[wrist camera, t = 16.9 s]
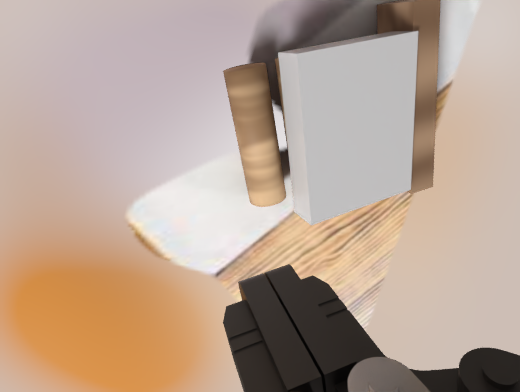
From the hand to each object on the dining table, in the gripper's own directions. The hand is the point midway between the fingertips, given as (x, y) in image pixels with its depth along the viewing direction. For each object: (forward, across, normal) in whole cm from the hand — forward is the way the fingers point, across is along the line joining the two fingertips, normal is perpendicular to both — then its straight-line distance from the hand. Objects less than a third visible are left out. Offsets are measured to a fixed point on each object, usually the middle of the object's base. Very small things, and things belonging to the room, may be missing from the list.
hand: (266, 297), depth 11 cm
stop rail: (+25, -21, +3) cm, 33 cm away
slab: (+22, -14, +4) cm, 26 cm away
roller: (+25, -6, +3) cm, 26 cm away
